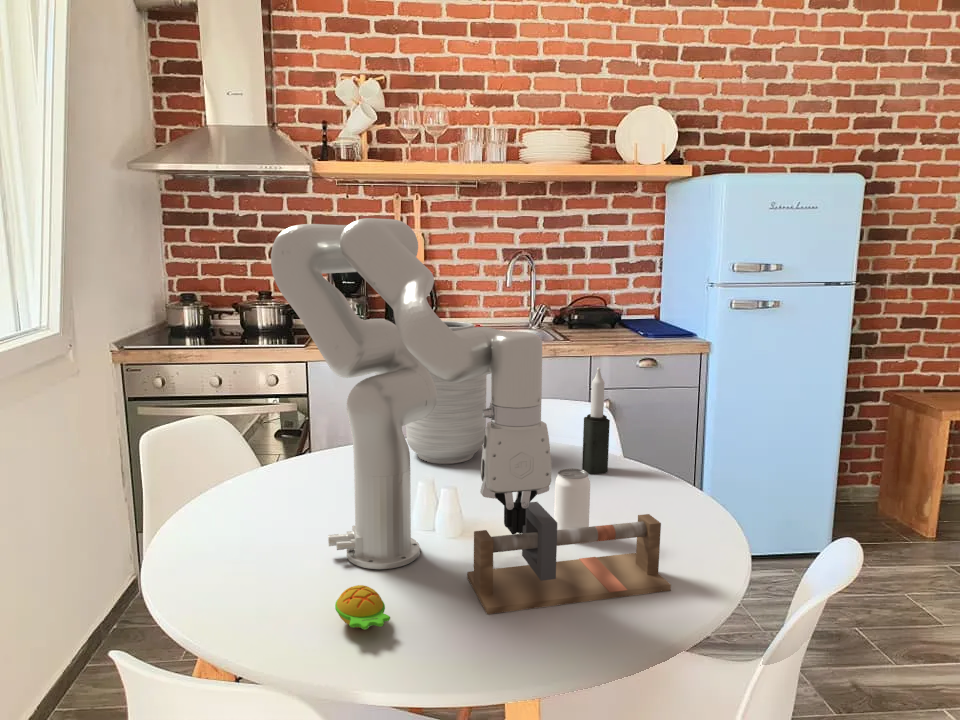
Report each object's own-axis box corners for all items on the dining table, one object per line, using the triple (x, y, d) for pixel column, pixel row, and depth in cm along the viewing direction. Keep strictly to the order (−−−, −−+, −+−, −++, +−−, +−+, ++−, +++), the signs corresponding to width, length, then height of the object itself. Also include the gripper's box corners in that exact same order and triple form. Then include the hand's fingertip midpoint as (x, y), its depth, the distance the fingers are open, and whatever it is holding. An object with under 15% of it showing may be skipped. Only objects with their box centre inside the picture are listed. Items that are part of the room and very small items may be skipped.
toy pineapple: (374, 605, 108) (374, 572, 107) (398, 638, 99) (397, 602, 98) (329, 616, 105) (328, 581, 104) (349, 651, 96) (348, 614, 95)
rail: (487, 614, 106) (487, 552, 104) (467, 577, 117) (467, 521, 115) (670, 590, 113) (673, 532, 112) (635, 558, 125) (637, 505, 123)
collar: (540, 580, 109) (542, 524, 107) (521, 555, 117) (523, 502, 116) (555, 578, 109) (557, 522, 108) (535, 554, 118) (537, 501, 116)
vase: (452, 440, 197) (453, 317, 191) (501, 457, 181) (504, 325, 176) (390, 453, 184) (388, 322, 178) (437, 473, 169) (437, 331, 163)
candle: (580, 468, 174) (584, 366, 169) (599, 466, 175) (603, 365, 171) (589, 474, 169) (593, 370, 165) (609, 473, 170) (613, 369, 166)
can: (587, 543, 131) (589, 480, 129) (551, 540, 132) (553, 477, 130) (589, 529, 137) (591, 469, 135) (555, 526, 138) (557, 466, 136)
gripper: (474, 423, 103) (473, 545, 106) (572, 417, 106) (569, 535, 109) (461, 411, 110) (461, 526, 113) (554, 406, 113) (551, 517, 116)
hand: (514, 530), depth 111 cm, fingers closed
